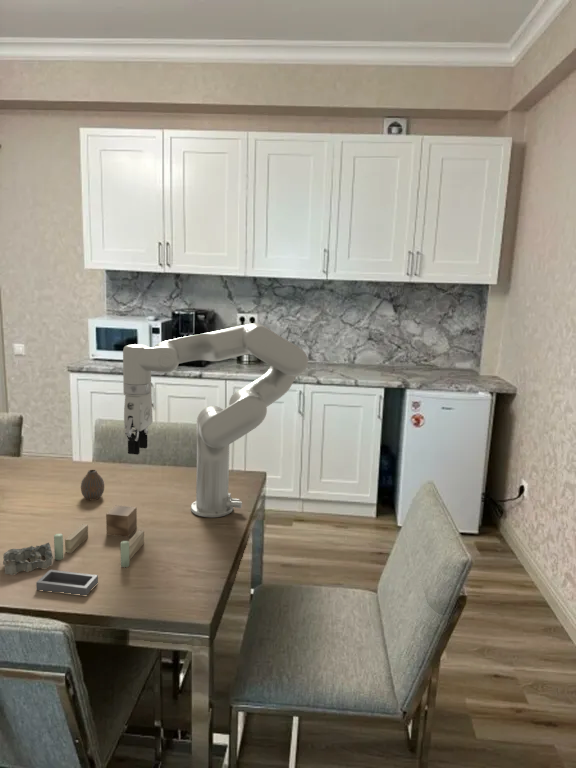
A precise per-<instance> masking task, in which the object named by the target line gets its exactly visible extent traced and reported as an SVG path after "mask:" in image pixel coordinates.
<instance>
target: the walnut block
mask: <svg viewBox="0 0 576 768" xmlns="http://www.w3.org/2000/svg"><path fill="white" fill-rule="evenodd" d="M137 508H138V507H137V506H127V505H117V504H116V505H114V506H113V507H112V508H111V509H110V510H109V511H107V513H106V514H105V517H106V519H105V520H106V522H105V524H106V535H108V536H115V537H116V536H117V537H127V538H128V537H130V535H131V534H132V533H133V532H134V531H135V530H136V529H137V525H138V518H137V517H138V516H137V514H138V513H137Z"/></svg>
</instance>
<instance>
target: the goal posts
mask: <svg viewBox="0 0 576 768" xmlns="http://www.w3.org/2000/svg"><path fill="white" fill-rule="evenodd" d="M63 537H64V536H63V533H55V534H53V549H54V551H53V552H54V560H56V561H61V560H63V559H64V538H63ZM128 566H129V567H130V560H129V540H121V542H120V567H121V568H122V567H124V568H123V569H125V567H127V568H128Z"/></svg>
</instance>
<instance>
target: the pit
mask: <svg viewBox="0 0 576 768" xmlns="http://www.w3.org/2000/svg"><path fill="white" fill-rule="evenodd" d="M35 583H36V584H35V586H36V588H35V589H36V591H37V590H43V591H42V592H44V591H52V592H64V593H71V594H80V595H87V594H88V593H89V592H90V590H91V589H92V588H93V587H94V586H95V585H96V584H97V583H98V584H99V574H90V573H83V572H72V571H67V570H66V571H65V570H59V569H58V570H56V569H48V571H47V572H45V574H44V575H42V577H40V578H39V579H38V580H37V581H36V582H35ZM98 584H97V585H98ZM97 585H96V586H97ZM96 586H95V587H96ZM95 587H94V588H95ZM94 588H93V589H94ZM52 592H51V593H52ZM90 593H91V592H90ZM90 593H89V594H90ZM89 594H88V595H89ZM88 595H87V596H88Z"/></svg>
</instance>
